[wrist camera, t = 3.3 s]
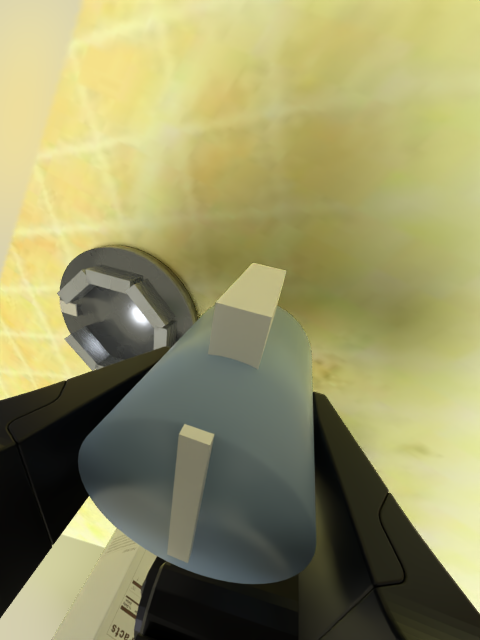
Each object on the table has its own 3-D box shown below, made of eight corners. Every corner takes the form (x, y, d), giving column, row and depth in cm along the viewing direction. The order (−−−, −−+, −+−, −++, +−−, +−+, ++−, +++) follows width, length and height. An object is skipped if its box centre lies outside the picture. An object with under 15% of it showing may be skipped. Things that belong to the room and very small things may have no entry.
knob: (292, 416, 11) (276, 621, 6) (187, 382, 12) (83, 537, 6) (343, 284, 8) (411, 439, 3) (201, 250, 9) (37, 322, 4)
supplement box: (176, 549, 33) (89, 773, 20) (126, 508, 32) (0, 719, 19) (221, 537, 29) (151, 808, 16) (167, 490, 28) (42, 743, 15)
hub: (191, 393, 21) (178, 414, 19) (78, 356, 23) (55, 371, 20) (207, 266, 16) (192, 275, 14) (61, 229, 18) (28, 233, 16)
